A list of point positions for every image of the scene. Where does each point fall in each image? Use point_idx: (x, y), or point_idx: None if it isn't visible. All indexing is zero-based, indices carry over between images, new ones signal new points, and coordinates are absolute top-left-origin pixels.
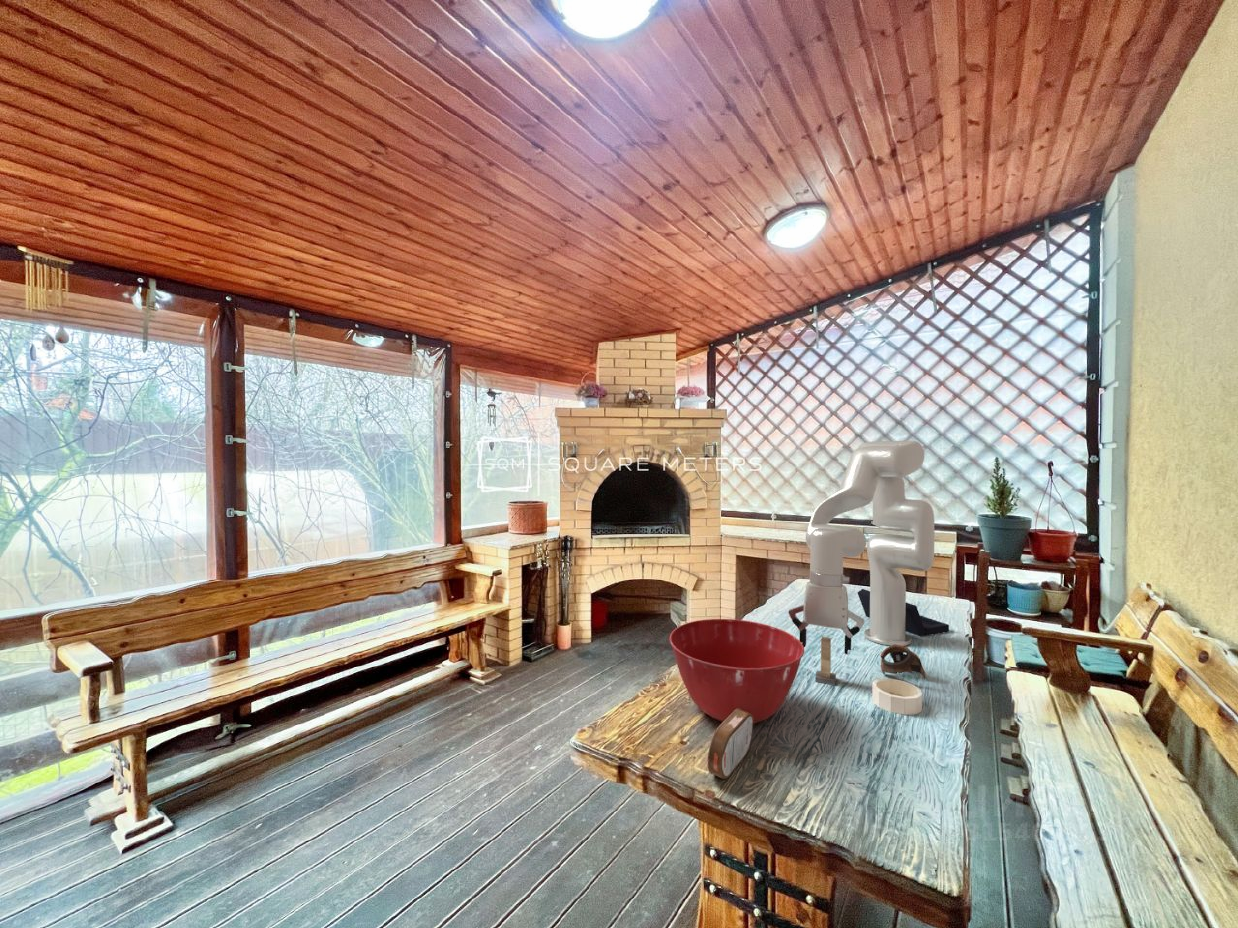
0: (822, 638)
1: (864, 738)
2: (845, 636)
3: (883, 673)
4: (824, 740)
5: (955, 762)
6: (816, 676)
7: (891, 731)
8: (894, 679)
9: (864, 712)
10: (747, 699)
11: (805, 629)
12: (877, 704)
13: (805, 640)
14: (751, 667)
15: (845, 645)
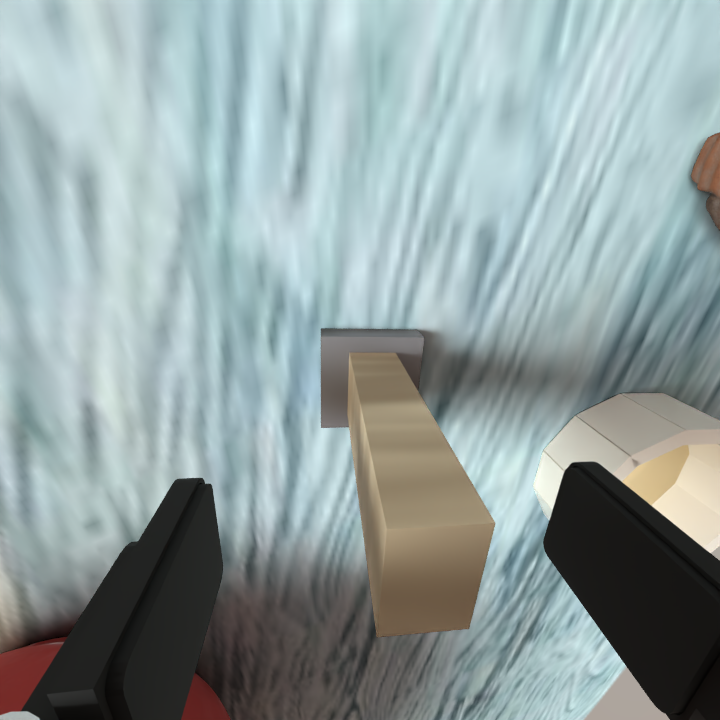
0: (391, 583)
1: (460, 663)
2: (700, 669)
3: (694, 181)
4: (367, 703)
5: None
6: (325, 417)
7: (535, 614)
8: (707, 432)
9: (487, 560)
10: None
11: (116, 710)
12: (544, 510)
13: (201, 606)
14: (1, 714)
15: (601, 618)
